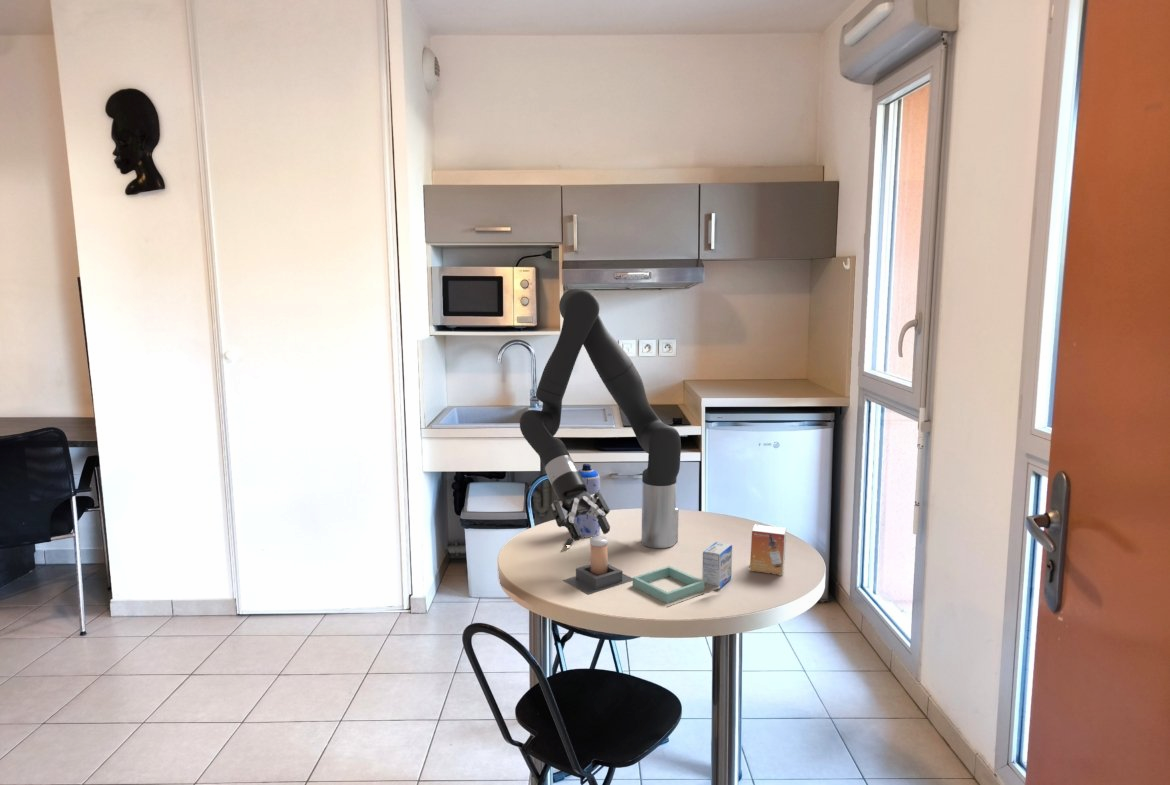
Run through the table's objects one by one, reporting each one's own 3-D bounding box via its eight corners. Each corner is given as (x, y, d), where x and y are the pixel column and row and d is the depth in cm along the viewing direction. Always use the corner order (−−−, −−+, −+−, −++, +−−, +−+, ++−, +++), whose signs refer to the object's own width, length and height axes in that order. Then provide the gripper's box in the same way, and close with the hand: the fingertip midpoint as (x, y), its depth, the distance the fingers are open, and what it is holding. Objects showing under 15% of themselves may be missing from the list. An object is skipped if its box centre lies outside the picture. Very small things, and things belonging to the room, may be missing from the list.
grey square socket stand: (608, 570, 179) (608, 556, 178) (635, 583, 171) (635, 569, 170) (562, 584, 170) (562, 570, 170) (588, 598, 162) (588, 584, 162)
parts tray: (668, 577, 174) (669, 565, 174) (704, 594, 165) (704, 581, 165) (632, 589, 167) (632, 577, 167) (666, 607, 158) (667, 594, 158)
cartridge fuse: (600, 574, 173) (600, 534, 172) (611, 580, 170) (611, 539, 168) (586, 579, 171) (586, 538, 169) (597, 585, 167) (597, 543, 166)
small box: (749, 571, 178) (750, 530, 177) (752, 563, 183) (753, 523, 182) (782, 576, 176) (784, 534, 174) (784, 567, 181) (786, 527, 179)
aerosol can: (570, 529, 208) (569, 462, 205) (596, 527, 210) (596, 460, 207) (576, 538, 201) (576, 468, 198) (603, 536, 203) (603, 467, 200)
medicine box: (719, 590, 167) (720, 554, 166) (701, 586, 169) (702, 551, 168) (731, 579, 174) (732, 544, 172) (714, 575, 176) (715, 540, 175)
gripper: (547, 474, 171) (575, 534, 164) (594, 465, 180) (623, 522, 172) (535, 490, 176) (561, 549, 169) (581, 481, 185) (609, 537, 177)
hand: (593, 535), depth 171 cm, fingers open, 8 cm apart
